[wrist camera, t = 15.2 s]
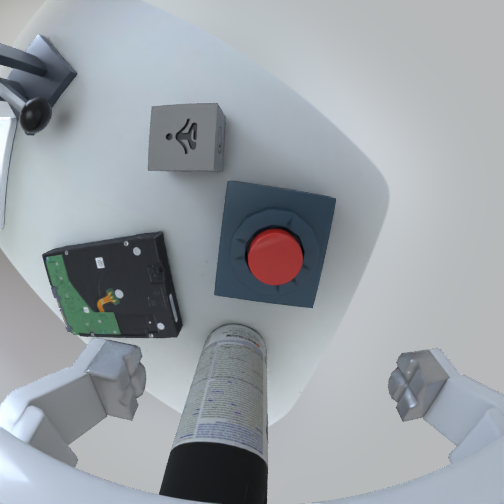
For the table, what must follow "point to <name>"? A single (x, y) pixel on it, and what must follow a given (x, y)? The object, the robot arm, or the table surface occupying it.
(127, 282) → the disk drive
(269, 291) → the button box
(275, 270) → the button
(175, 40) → the table surface
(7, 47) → the bracket
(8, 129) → the phone case
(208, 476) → the spray can
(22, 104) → the lever
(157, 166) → the dice cube
